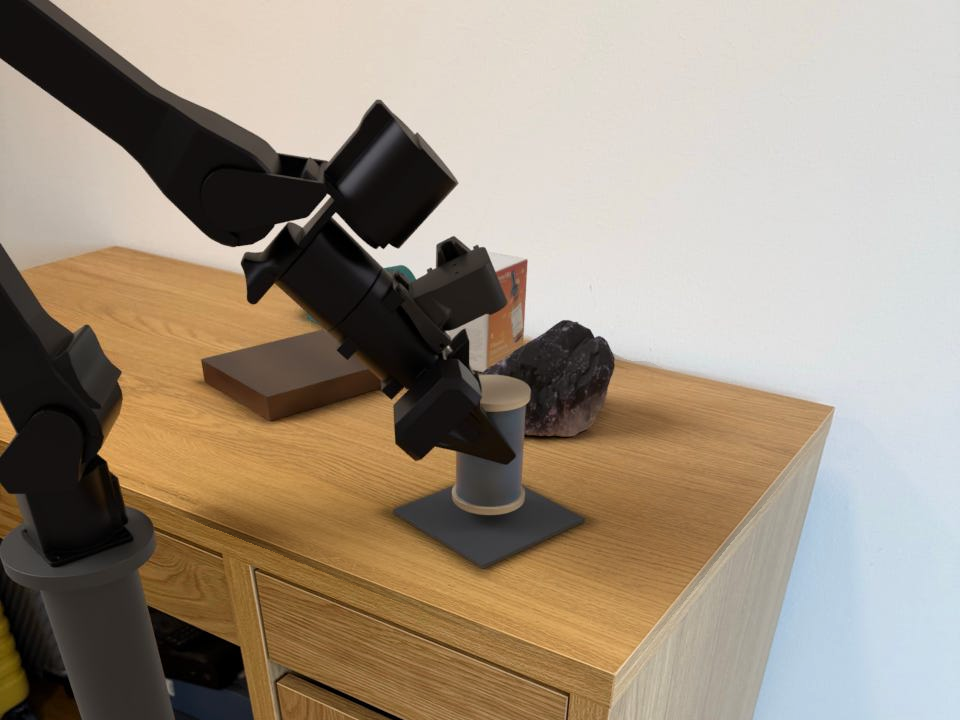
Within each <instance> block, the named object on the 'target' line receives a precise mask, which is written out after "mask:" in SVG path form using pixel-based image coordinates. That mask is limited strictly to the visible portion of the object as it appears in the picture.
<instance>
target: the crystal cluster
mask: <svg viewBox="0 0 960 720" xmlns="http://www.w3.org/2000/svg"><path fill="white" fill-rule="evenodd" d="M615 359H616V358H615V355H614V353H613V350H612V349H611V347H610V345H609V342H608V340H607V339H605V337H603V336H601V335H597V336H595V335H594V333H593V331H592V330H591V329H590V328H588V327H586V326H585V325H583V324H580V323H579V322H578V321H573V320H571V319H562V320H560V321H559V322H557V323H555V324H554V325H553V326H552V327H550V328H548V329H547V330H546V331H545V332H543V333H542V334H539V336H537V337H535V338H533V339H531V340H530V341H528V342H526V343H524V344H523V346H522V347H520V348H518V349H517V350H515V351H514V352H512V353H511V354H510V355H508V356H507V357H506V358H504V359H502V360H501V361H499V362H498V363H496V364H495V365H493V366H490V367H488V368H487V369H486V370H485V371H484V372H481V374H480V375H503V376H508V377H513V378H516V379H519V380H521V381H523V382H525V383H526V384H527V385H528V386H529V387H530V389H531V395H530V400H529V402H528V403H527V404H526V413H525V431H524V435H527V436H539V437H543V436H547V437H552V436H557V437H558V436H559V437H575V436H576V435H578V434H579V433H581V432H583V431H585V430H588V429H589V428H591V427H592V425H593V424H594V422H595V421H596V417H597V415H598V414H599V413H600V412H601V411H600V410H601V409H602V408H603V406H604V405H605V403H606V401H607V400H606V399H607V395H608V388H609V386H610V382H611V379H612V376H613V374H614V372H615V366H616V365H615V364H616V363H615Z"/></svg>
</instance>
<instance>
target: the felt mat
mask: <svg viewBox="0 0 960 720" xmlns="http://www.w3.org/2000/svg"><path fill="white" fill-rule="evenodd" d="M453 487H454V485H451V486H449V487H447V488H444V489H441V490H439V491H436V492H433V493H430V494H429V495H426V496H423V497H420V498H418V499H416V500H413V501H411V502H408V503H405V504H403V505H401V506H397V507H395V508H393V509H392V514H393V515H395V516H396V517H398V518H400V519H401V520H402V521H404V522H406V523H407V524H410V526H412V527H414V528H415V529H417V530H419V531H421V532H422V533H424V534H426V535H427V536H429V537H430V538H432V539H434V540H435V541H437V542H439V543H440V544H441V545H443V546H445V547H446V548H448V549H450V550H451V551H453V552H455V553H456V554H458V555H459V556H461V557H463V558H464V559H466V560H467V561H469V562H471V563H472V564H474V565H476V566H478V567H479V568H481V569H482V570H484V569H487V568H488V567H489V568H490V567H491V566H493V565H496V564H498V563H499V562H502V561H504V560H506V559H508V558H510V557H512V556H514V555H517V554H519V553H521V552H523V551H525V550H527V549H529V548H532V547H534V546H536V545H538V544H540V543H543V542H544V541H547V540H548V539H551V538H553V537H555V536H557V535H560V534H561V533H563V532H566V531H568V530H570V529H572V528H574V527H577V526H579V525H581V524H583V523H585V521H586V520H585V519H586V518H585V517H584V516H582V515H581V514H578V513H576V512H574V511H573V510H570V509H569V508H567V507H565V506H563V505H561V504H559V503H557V502H556V501H553V500H551V499H549V498H548V497H545V496H544V495H542V494H540V493H538V492H536V491H534V490H532V489H530V488H528V487H526V486H524V485H522V487H523V488H524V490H525V500H524V503H523V504H522V505H521V507H519V508H518V509H516V510H514V511H512V512H509V513H505V514H500V515H480V514H474V513H470V512H467V511H465V510H463V509H461V508H459V507H458V506H457V505H456V504H455V503H454V502H453V499H452V489H453Z"/></svg>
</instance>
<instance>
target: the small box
mask: <svg viewBox="0 0 960 720" xmlns="http://www.w3.org/2000/svg"><path fill="white" fill-rule="evenodd" d="M487 252H488V255H489V257H490V260H491V262H492V264H493V267H494V269H495V272H496V274H497V276H498V279H499V281H500V284H501V286H502V288H503V291H504V293H505V296H506V298H507V301H508V303H507V305H506V306H505V307H504V308H503V309H501V310H500V311H498V312H496V313H494V314H492V315H489V314H485V315H483V316H481V317H479V318H477V319H475V320H473V321H471V322H469V323H467V324H465V325H462V326H460V327H458V328H456V329H454V330H450V331H446V333H447V334H448V335H449V336H450V337H451V340H452V339H453V338H454V337H455V336H456V335H457V334H458V333H459V332H460V331H461V330H462V329H466V331H467V335H468V338H469V343H470V344H469V364H470V366H471V368H472V369H473V371H474V372H478V373H483V372H484V371H485V370H486V369H487V368H488V367H490V366H493V365H495V364H496V363H498V362H499V361H501V360H502V359H504V358H506V357H507V356H508V355H510V354H511V353H512V352H514V351H515V350H517V349H518V348H520V347H522V346H523V345H524V337H525V336H524V335H525V320H526V319H525V318H526V298H527V279H528V262H529V261H528V258H524V257H519V256H514V255H509V254H503V253H500V252H499V253H498V252H493V251H489V250H487Z"/></svg>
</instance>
